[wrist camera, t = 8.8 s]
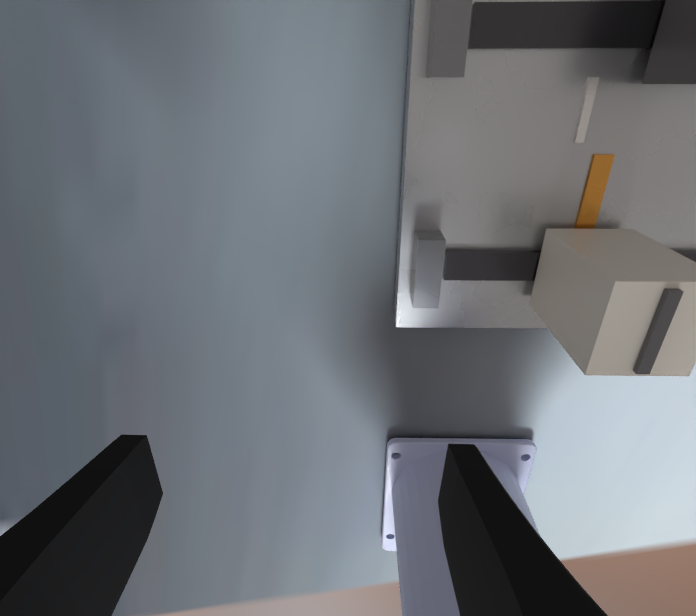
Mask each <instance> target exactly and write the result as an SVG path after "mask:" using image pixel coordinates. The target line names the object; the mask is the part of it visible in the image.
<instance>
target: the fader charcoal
mask: <svg viewBox="0 0 696 616" xmlns="http://www.w3.org/2000/svg"><path fill="white" fill-rule="evenodd" d="M642 84H696V0H666V1H665V5H664V8H663V12H662V15H661V19H660V22H659V26H658V29H657V33H656V36H655V40H654V43H653V47H652V50H651V54H650V57H649V61H648V64H647V68H646V71H645V75H644V78H643V82H642Z"/></svg>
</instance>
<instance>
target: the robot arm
mask: <svg viewBox="0 0 696 616" xmlns="http://www.w3.org/2000/svg"><path fill="white" fill-rule="evenodd" d="M396 452H397V453H398V454H393V453H396ZM535 453H536V446H535V444H534V442H533V441H531V440H528V439H462V438H392V439H390V440H389V441H388V443H387V453H386V471H385V489H384V507H383V525H382V548H383V549H385V550H387V551H397V562H398V574H399V585H400V597H401V609H402V616H607V614H606V613H605V612H604V611H603V610H602V609H601V608H600V607H599V606H598V605H597V604H596V602H595V601H594V600H593V599H592V598H591V597H590V596H589V595H588V593H587V592H586V591H585V590H584V589H583V588H582V587H581V585H580V584H579V583H578V582H577V581H576V580H575V578H574V577H573V576H572V575H571V574H570V572H569V571H568V570H567V569H566V568H565V566H564V565H563V564H562V563H561V562H560V560H559V559H558V558H557V557H556V556H555V554H554V553H553V552H552V551H551V549H550V548H549V547H548V546H547V544H546V543H545V542H544V541H543V539H542V538H541V537H540V534H539V532H538V529H537V527H536V525H535V522H534V520H533V517H532V515H531V512H530V510H529V507H528V505H527V502H526V500H525V497H524V492H525V488H526V485H527V481H528V478H529V474H530V471H531V467H532V464H533V460H534V457H535ZM524 454H525V455H524ZM162 495H163V492H162V488H161V485H160V481H159V477H158V474H157V470H156V467H155V463H154V460H153V456H152V452H151V449H150V445H149V442H148V438H147V435H121V436H119V437H118V438H117V439H116V440H115V441H113V442H112V443H111V444H110V445H109V446H108V447H106V448H105V449H104V450H103V451H102V452H101V453H99V454H98V455H97V456H96V457H95V458H94V459H92V460H91V461H90V462H89V463H88V464H87V465H86V466H84V467H83V468H82V469H81V470H80V471H79V472H78V473H76V474H75V475H74V476H73V477H72V478H71V479H69V480H68V481H67V482H66V483H65V484H64V485H62V486H61V487H60V488H59V489H58V490H56V491H55V492H54V493H53V494H52V495H51V496H49V497H48V498H47V499H46V500H45V501H43V502H42V503H41V504H40V505H39V506H38V507H36V508H35V509H34V510H33V511H32V512H30V513H29V514H28V515H27V516H25V517H24V518H23V519H21V520H20V521H19V522H18V523H16V524H15V525H14V526H13V527H11V528H10V529H9V530H8V531H6V532H5V533H4V534H3V535H1V536H0V616H111V615H112V613H113V611H114V609H115V607H116V605H117V603H118V601H119V598H120V596H121V594H122V592H123V590H124V588H125V586H126V584H127V582H128V580H129V577H130V575H131V573H132V571H133V569H134V567H135V565H136V562H137V560H138V558H139V556H140V554H141V552H142V550H143V547H144V545H145V543H146V541H147V539H148V536H149V533H150V530H151V528H152V525H153V522H154V519H155V516H156V513H157V510H158V507H159V504H160V501H161V498H162Z"/></svg>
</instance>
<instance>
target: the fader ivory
mask: <svg viewBox="0 0 696 616" xmlns="http://www.w3.org/2000/svg"><path fill="white" fill-rule="evenodd" d="M530 305H531V307H532V308H533V309H534V311H535V312H536V313H537V314H538V316H539V317H540V318H541V319H542V321H543V322H544V323H545V325H546V326H547V327H548V328H549V330H550V331H551V332H552V334H553V335H554V336H555V337H556V339H557V340H558V341H559V342H560V344H561V345H562V346H563V348H564V349H565V350H566V351H567V353H568V354H569V355H570V357H571V358H572V359H573V360H574V362H575V363H576V364H577V366H578V367H579V368H580V369H581V371H582V372H583V373H584V374H585V375H623V376H689V375H690V373H691V371H692V369H693V367H694V365H695V363H696V262H694V261H692V260H690V259H689V258H687V257H685V256H683V255H681V254H679V253H677V252H675V251H673V250H672V249H670V248H668V247H666V246H664V245H662V244H660V243H658V242H656V241H654V240H653V239H651V238H649V237H647V236H645V235H643V234H641V233H639V232H637V231H636V230H634V229H546V232H545V237H544V241H543V246H542V250H541V255H540V259H539V264H538V268H537V272H536V277H535V281H534V286H533V290H532V295H531V299H530Z"/></svg>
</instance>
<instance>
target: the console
mask: <svg viewBox="0 0 696 616" xmlns="http://www.w3.org/2000/svg"><path fill="white" fill-rule="evenodd" d="M665 1H666V0H411V8H410V26H409V45H408V63H407V81H406V99H405V117H404V136H403V154H402V172H401V190H400V208H399V227H398V245H397V263H396V281H395V299H394V319H395V326H396V327H410V328H548V327H547V326H546V325H545V323H544V322H543V321H542V319H541V318H540V317H539V316H538V314H537V313H536V312H535V311H534V309H533V308H532V307H531V305H530V299H531V295H532V290H533V286H534V281H535V277H536V272H537V268H538V264H539V259H540V255H541V250H542V246H543V241H544V237H545V232H546V229H634V230H636V231H637V232H639V233H641V234H643V235H645V236H647V237H649V238H651V239H653V240H654V241H656V242H658V243H660V244H662V245H664V246H666V247H668V248H670V249H672V250H673V251H675V252H677V253H679V254H681V255H683V256H685V257H687V258H689V259H690V260H692V261H694V262H696V84H642V82H643V78H644V75H645V71H646V68H647V64H648V61H649V57H650V54H651V50H652V47H653V43H654V40H655V36H656V33H657V29H658V26H659V22H660V19H661V15H662V12H663V8H664V5H665Z"/></svg>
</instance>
